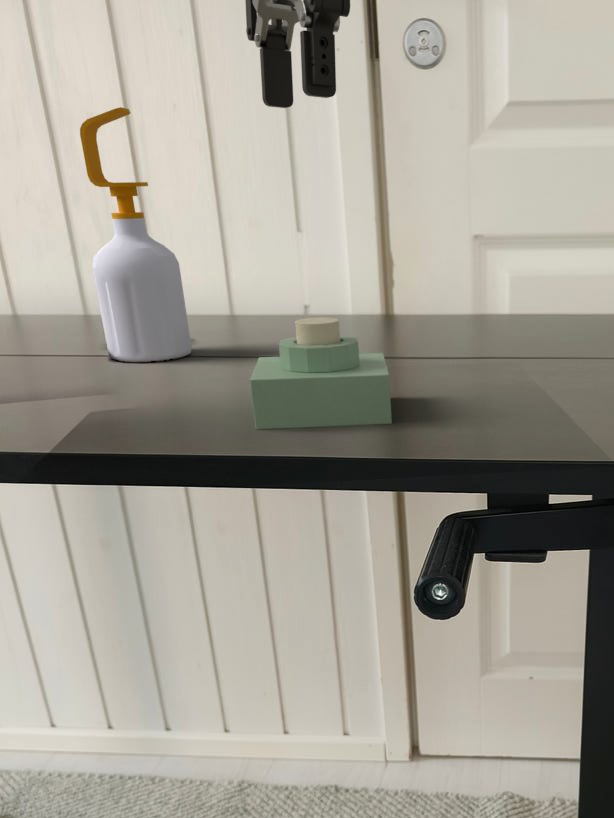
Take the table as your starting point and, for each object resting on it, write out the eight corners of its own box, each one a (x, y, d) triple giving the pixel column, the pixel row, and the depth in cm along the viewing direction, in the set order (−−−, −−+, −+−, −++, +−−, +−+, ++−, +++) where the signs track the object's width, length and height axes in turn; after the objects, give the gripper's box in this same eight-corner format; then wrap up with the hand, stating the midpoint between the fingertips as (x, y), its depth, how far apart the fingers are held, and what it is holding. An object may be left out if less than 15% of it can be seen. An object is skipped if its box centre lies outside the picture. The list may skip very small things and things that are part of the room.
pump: (296, 350, 75) (293, 324, 74) (298, 343, 78) (295, 318, 77) (341, 349, 75) (339, 322, 74) (340, 341, 78) (338, 316, 77)
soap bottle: (183, 362, 101) (143, 105, 90) (99, 364, 100) (48, 105, 89) (199, 348, 109) (165, 110, 98) (122, 350, 108) (78, 111, 97)
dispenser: (255, 430, 74) (246, 353, 71) (264, 402, 83) (255, 333, 80) (391, 424, 75) (387, 348, 72) (385, 397, 84) (381, 329, 81)
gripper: (199, -162, 64) (219, 106, 70) (265, -241, 52) (281, 86, 59) (302, -138, 67) (311, 115, 74) (384, -207, 56) (386, 98, 63)
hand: (298, 102), depth 66 cm, fingers open, 8 cm apart
